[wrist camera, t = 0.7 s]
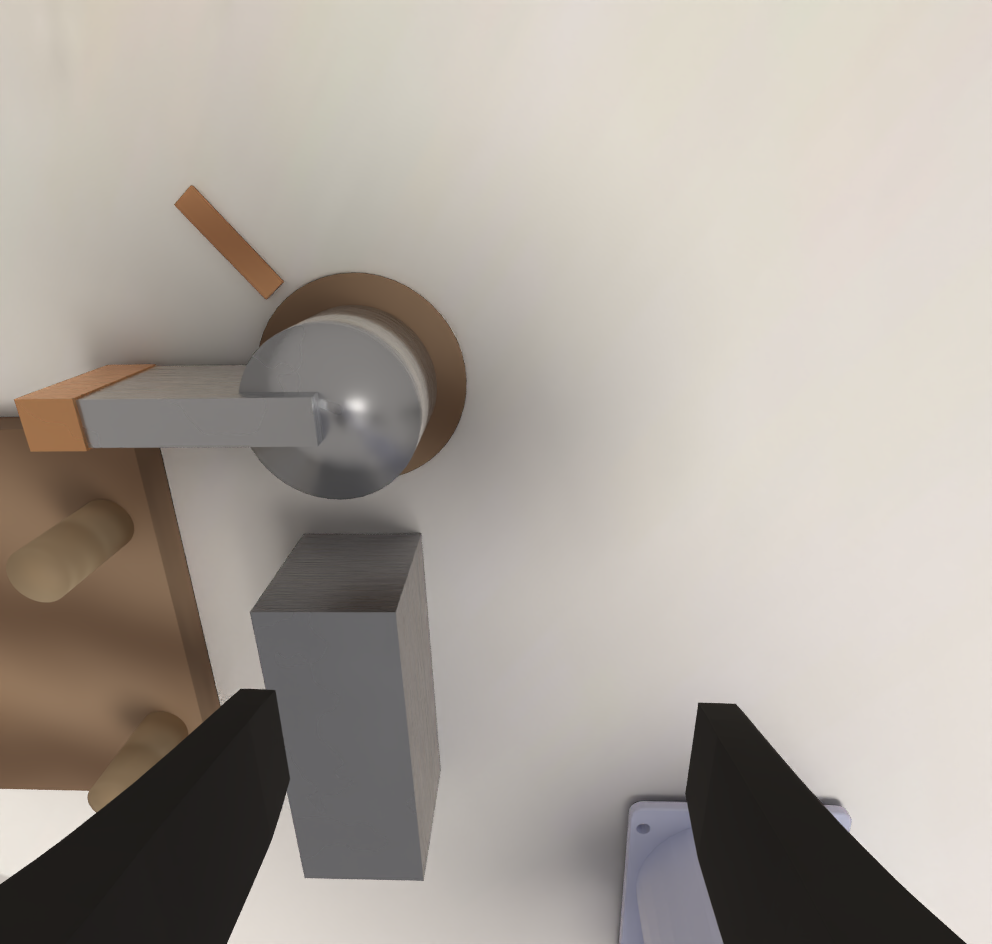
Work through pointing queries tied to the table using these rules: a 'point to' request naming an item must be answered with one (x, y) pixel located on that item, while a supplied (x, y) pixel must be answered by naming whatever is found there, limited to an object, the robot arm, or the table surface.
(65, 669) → the walnut board
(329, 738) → the steel bar
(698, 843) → the robot arm
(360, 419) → the silver lever knob
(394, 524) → the table surface
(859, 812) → the table surface
